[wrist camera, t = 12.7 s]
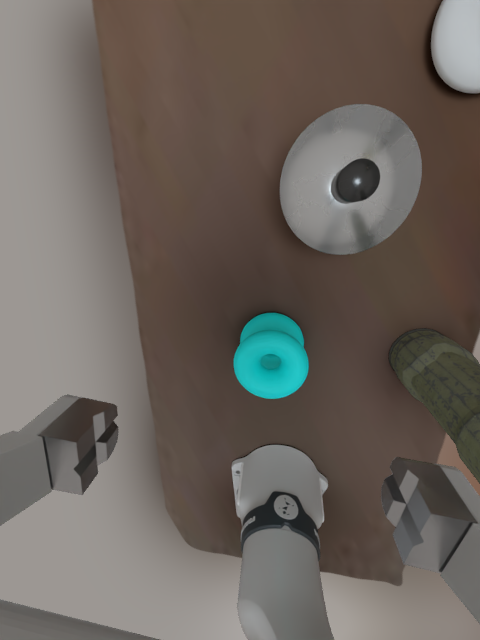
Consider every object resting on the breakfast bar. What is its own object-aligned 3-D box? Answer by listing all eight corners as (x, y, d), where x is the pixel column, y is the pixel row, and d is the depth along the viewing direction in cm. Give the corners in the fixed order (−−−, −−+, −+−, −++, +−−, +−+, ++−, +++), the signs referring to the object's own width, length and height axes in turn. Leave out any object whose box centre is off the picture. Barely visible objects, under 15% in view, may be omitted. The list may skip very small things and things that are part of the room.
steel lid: (393, 259, 29) (415, 268, 25) (271, 246, 30) (270, 251, 26) (435, 114, 25) (473, 89, 20) (290, 104, 26) (293, 78, 21)
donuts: (304, 329, 33) (314, 399, 36) (298, 305, 42) (306, 362, 46) (224, 341, 35) (240, 406, 38) (235, 315, 44) (248, 369, 47)
